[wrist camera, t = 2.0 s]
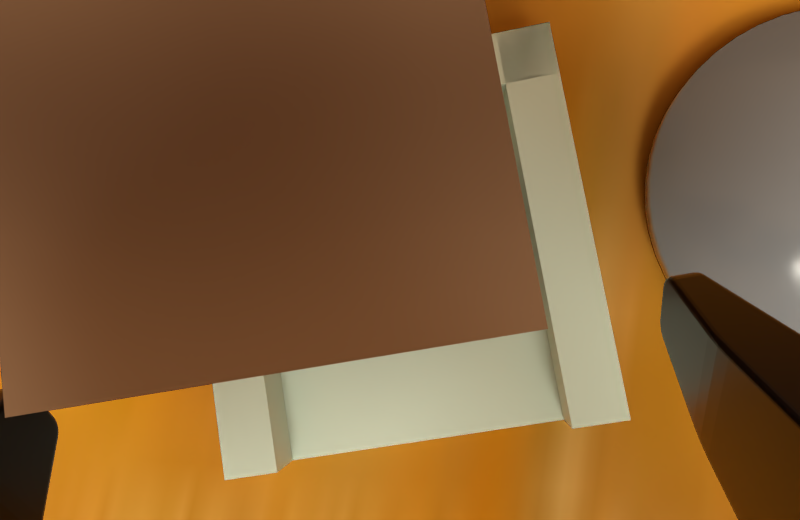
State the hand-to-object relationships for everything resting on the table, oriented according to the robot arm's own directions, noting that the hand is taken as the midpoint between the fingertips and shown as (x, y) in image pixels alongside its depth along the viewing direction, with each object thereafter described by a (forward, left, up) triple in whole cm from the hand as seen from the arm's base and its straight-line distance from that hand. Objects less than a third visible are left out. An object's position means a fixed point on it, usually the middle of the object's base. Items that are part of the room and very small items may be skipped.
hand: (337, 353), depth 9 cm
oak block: (+2, -1, -10) cm, 10 cm away
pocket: (+2, -1, -10) cm, 11 cm away
